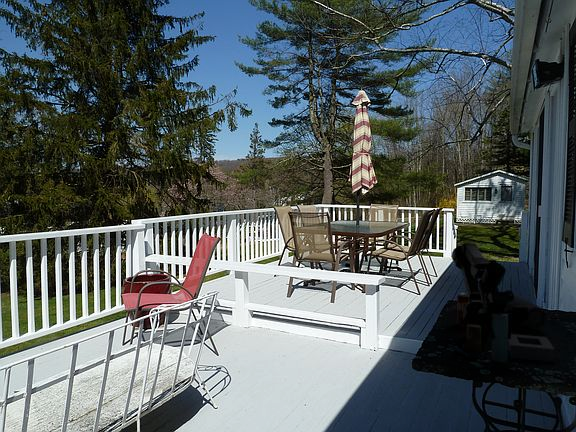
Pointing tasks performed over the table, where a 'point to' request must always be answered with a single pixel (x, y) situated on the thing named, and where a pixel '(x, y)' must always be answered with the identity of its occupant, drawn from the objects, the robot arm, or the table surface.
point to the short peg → (474, 338)
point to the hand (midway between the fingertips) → (501, 338)
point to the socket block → (531, 348)
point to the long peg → (500, 337)
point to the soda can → (461, 308)
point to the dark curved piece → (536, 315)
